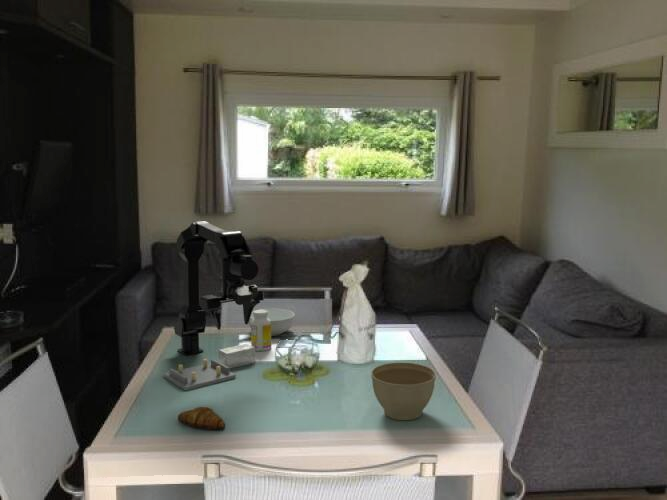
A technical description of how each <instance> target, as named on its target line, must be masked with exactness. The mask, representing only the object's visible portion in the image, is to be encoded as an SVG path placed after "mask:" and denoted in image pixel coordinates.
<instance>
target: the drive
mask: <svg viewBox="0 0 667 500" xmlns="http://www.w3.org/2000/svg"><path fill="white" fill-rule="evenodd" d="M218 362H220V363H222V364H224V365H225V366H227V367H229V368H230V369H232V368H237V367H241V366H245V365H249V364H253V363H256V351H255V347H253V346H251V345H250V344H248V343H242V344H239V345H235V346H229V347H225V348H221V349H218Z"/></svg>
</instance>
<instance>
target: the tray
mask: <svg viewBox="0 0 667 500" xmlns="http://www.w3.org/2000/svg"><path fill="white" fill-rule="evenodd" d="M177 368H178V370H176V369H173V368H169V370H168V371H169V372H165V373H163V377H164V378H165V379H166V380H168V381H170V382H171V383H173V384H174V385H176V386H178V387H179V388H180V389H182V390H184V391H185V392H186V391H190V390H194V389H197V388H201V387H206V386H209V385H214V384H217V383H220V382H224V381H228V380H233V379H236V378H237V377H236V373H234V372H232V371H230V370H231V368H229V367H227V366H225V365H224V364H222V363H220V362H219V360H216V359H214V358H212V359H211V358H210V362H208V359H207V358H203V360H202V364H198V365H196V366H190V367H188V368H187V367H186V368H184V366H183V364H178V367H177Z"/></svg>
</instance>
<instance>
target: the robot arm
mask: <svg viewBox="0 0 667 500" xmlns="http://www.w3.org/2000/svg"><path fill="white" fill-rule="evenodd" d="M208 241H209V242H210V243H213V244H214V246H215V248H216V250H218V252H220V253H219V254H218V255H217V258H219V259H220V267H221V269H220V270H221V273H220V274H221V276H220V277H219V279H218V280H219V282H221V290H219V295H220V296H216V295H213V294H207V295H201V296H200V260H201V258H202V256H203V255H204V253H205V246H206V244H207V243H208ZM176 247H177V253H178V254H179V256H180V257H181V259H182V260H183V305H182V307H181V309H179V313H178V320H176V321H177V322H176V323H175V325H174V327H173V330H174V335H176V336H179V337H180V340H181V342H180V343H181V348H178V349H177V352H179V353H180V354H183V355H185V356H189V355H194V354H198V353H203V352H204V349H203V348H201V347H200V335H199V334H203V333H205V331H206V325H207V319H206V318H207V317H206V316H207V315H206V311H208V313H209V314H210V317H211V318H212V321H213V322H214V325H215V328H217V329H216V330H218V331H221V327H222V326H221V311H222V308H221V306H222V305H221V304H226V303H231V302H232V303H233V302H235V304H236V305H238V306H242V311H243V320H244V324H245V325H246V326H247V325H249V323H248V322H249V319H250V316H251V313H252V311H254V308H255V307H256V306H257V305H258V304H260V303H261V301H265V294H264V292H263V290H261V289H258V286H257V285H256V284H251V285H245V280H246V281H253V280H255V278H256V277H257V276H258V273H259V266H258V264H257V262H256V261H255V260H253V256H252V255H251V251H250V250H251V249H250V247H249V245H248V243H247V241H246V238H245V236H244V234H243V233H242V231H240V230H225V229H222V228H221V227H219V226H216V225H213V224H211V223H210V222H208V221H206V220H203V221H202V220H201V221H193V222H192V223H190V225H189V227H187V228H186V229H183V230H182V231H181V232H180V234H179V235H178V237H177V238H176ZM204 309H205V310H204Z"/></svg>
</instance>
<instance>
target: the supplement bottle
mask: <svg viewBox="0 0 667 500" xmlns="http://www.w3.org/2000/svg"><path fill="white" fill-rule="evenodd" d="M253 311H254V312H253V313H254V314H253V315H254V318H253V319H252V320H251V327H250V339H251V341H250V342H251V346H253V347H255V352H257V351H258V352H263V351H264V352H266V351H269V350H271V348H272V336H271V321H270V319H269V318H267V315H268V311H266V310H260V309H256V311H255V310H253Z"/></svg>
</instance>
